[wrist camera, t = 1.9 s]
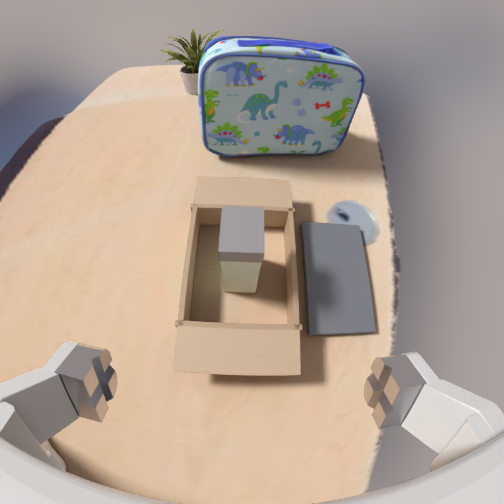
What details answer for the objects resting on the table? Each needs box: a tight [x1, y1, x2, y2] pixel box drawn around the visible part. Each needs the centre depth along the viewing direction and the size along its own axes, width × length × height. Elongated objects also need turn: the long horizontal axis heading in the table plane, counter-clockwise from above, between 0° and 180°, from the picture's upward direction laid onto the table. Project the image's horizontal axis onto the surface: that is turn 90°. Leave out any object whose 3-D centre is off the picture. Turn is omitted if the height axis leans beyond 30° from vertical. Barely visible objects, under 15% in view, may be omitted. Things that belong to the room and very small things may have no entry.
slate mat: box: [301, 222, 376, 336], centre depth 37 cm, size 16×9×1 cm, turn 179°
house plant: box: [161, 29, 223, 95], centre depth 51 cm, size 14×14×16 cm
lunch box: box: [198, 36, 365, 157], centre depth 40 cm, size 26×11×21 cm, turn 97°
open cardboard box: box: [174, 176, 302, 376], centre depth 35 cm, size 26×14×4 cm, turn 179°
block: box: [218, 206, 264, 293], centre depth 32 cm, size 5×4×11 cm
